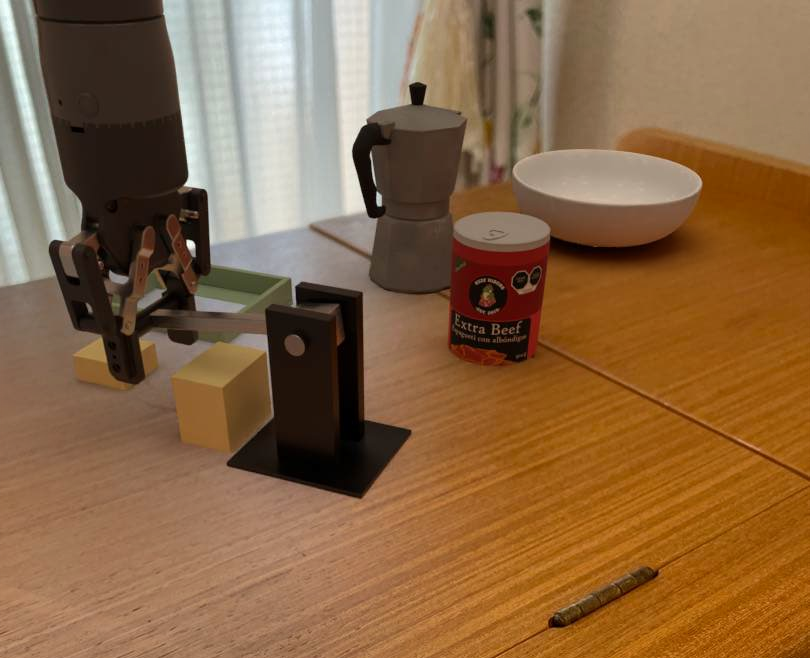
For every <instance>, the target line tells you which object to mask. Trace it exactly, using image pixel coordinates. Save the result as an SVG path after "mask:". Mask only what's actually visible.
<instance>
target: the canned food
mask: <svg viewBox="0 0 810 658" xmlns="http://www.w3.org/2000/svg"><path fill="white" fill-rule="evenodd" d="M453 230H454V232H453V245H452V263H451V284H450V286H449V305H448V306H449V308H448V328H447V329H448V331H447V347H448V350H449V351H450V353H451V354H452V355H453V356H455V357H457V358H458V359H460V360H462V361H465V362H467V363H471V364H475V365H481V366H488V367H489V366H490V367H499V366H501V367H503V366H511V365H515V364H520V363H521V362H526V361H527V360H528V359H533V358H534V357H535V355H536V352H537V350H538V342H539V334H540V326H541V319H542V310H543V303H544V296H545V295H544V294H545V286H546V279H547V271H548V262H549V254H550V243H551V235H550V227H549V226H548V224H546V223H545V222H544V221H542V220H540V219H538V218H535V217H532V216H529V215H525V214H523V213H519V212H511V211H485V212H478V213H472V214H470V215H469V214H468V215H467V216H464V217H461V218H460V219H458V220H457V221H456V222H455V223H454V225H453Z"/></svg>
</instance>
